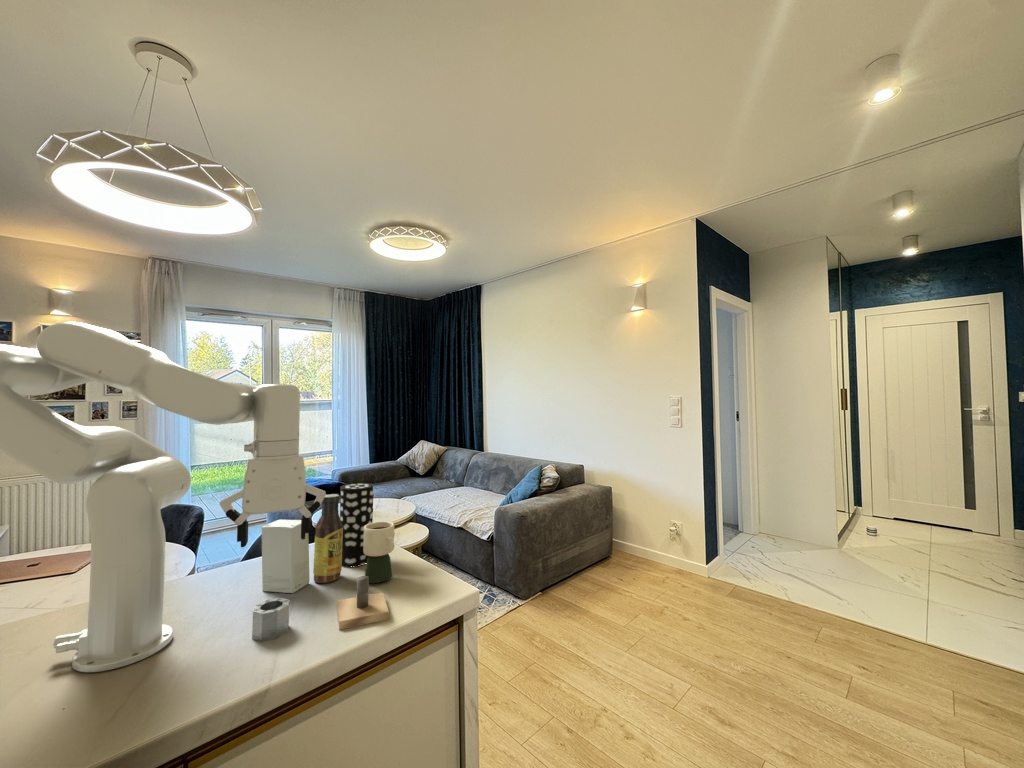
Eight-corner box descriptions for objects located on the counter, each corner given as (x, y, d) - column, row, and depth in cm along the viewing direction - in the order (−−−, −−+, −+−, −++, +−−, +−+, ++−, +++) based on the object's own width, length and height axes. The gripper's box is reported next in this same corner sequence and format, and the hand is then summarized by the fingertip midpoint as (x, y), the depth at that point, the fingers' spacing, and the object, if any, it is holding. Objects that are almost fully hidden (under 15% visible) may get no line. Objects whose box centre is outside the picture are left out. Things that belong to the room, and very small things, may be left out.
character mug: (404, 581, 98) (405, 526, 99) (378, 592, 93) (379, 533, 93) (378, 569, 105) (379, 518, 106) (352, 579, 100) (353, 524, 100)
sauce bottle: (330, 585, 96) (332, 499, 97) (307, 583, 97) (309, 498, 98) (347, 574, 102) (349, 493, 103) (324, 572, 103) (326, 492, 104)
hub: (250, 643, 73) (251, 615, 73) (255, 627, 78) (255, 601, 78) (287, 636, 75) (287, 609, 75) (289, 621, 80) (289, 596, 80)
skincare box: (309, 583, 97) (311, 519, 98) (291, 595, 91) (293, 526, 92) (278, 580, 99) (280, 517, 99) (258, 591, 93) (260, 524, 93)
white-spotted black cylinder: (377, 561, 111) (378, 486, 112) (347, 570, 105) (349, 490, 106) (363, 553, 117) (364, 482, 118) (333, 561, 111) (335, 486, 112)
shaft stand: (339, 629, 77) (339, 591, 78) (337, 608, 85) (337, 573, 86) (388, 619, 81) (389, 582, 81) (382, 599, 89) (382, 566, 90)
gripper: (217, 454, 71) (214, 555, 70) (327, 449, 78) (325, 540, 78) (225, 449, 78) (223, 541, 77) (326, 445, 85) (324, 529, 84)
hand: (274, 541), depth 77 cm, fingers open, 9 cm apart
